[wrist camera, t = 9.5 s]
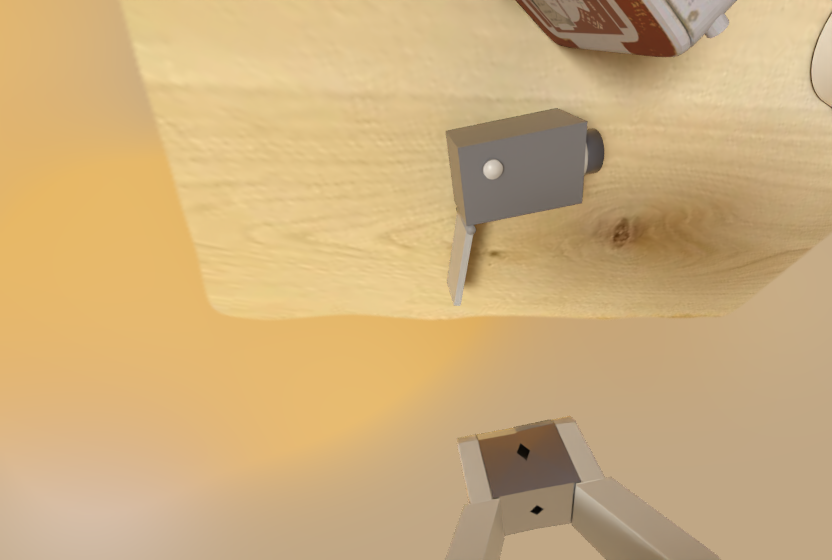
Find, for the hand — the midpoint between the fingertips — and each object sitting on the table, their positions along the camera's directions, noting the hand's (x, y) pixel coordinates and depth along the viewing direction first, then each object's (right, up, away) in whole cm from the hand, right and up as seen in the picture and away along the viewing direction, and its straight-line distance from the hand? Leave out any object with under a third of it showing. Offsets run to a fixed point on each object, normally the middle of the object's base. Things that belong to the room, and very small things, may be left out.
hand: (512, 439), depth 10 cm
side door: (+2, +9, +38) cm, 39 cm away
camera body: (+8, +18, +34) cm, 39 cm away
